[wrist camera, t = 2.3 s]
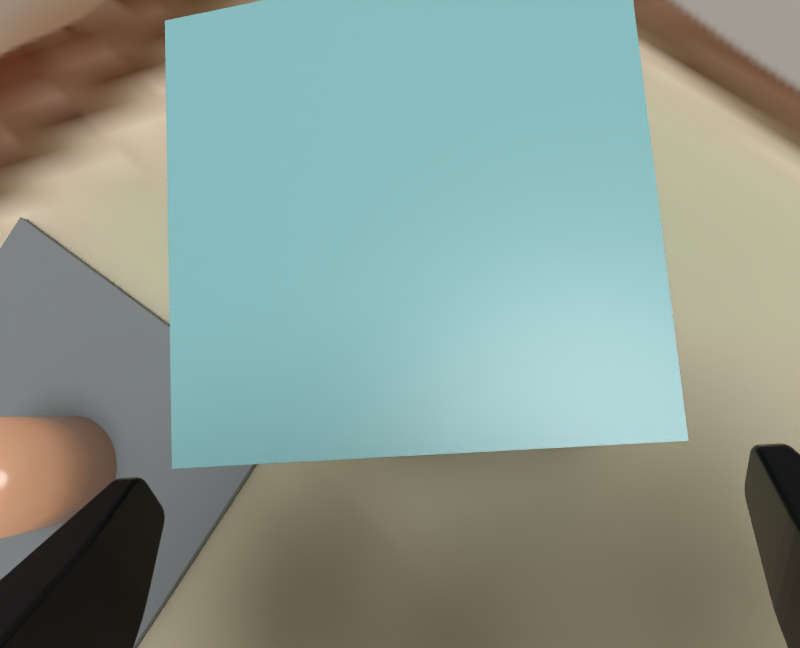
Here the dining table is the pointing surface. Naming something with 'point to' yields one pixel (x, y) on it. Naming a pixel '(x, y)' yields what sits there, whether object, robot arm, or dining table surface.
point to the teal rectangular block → (413, 232)
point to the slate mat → (102, 393)
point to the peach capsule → (50, 470)
